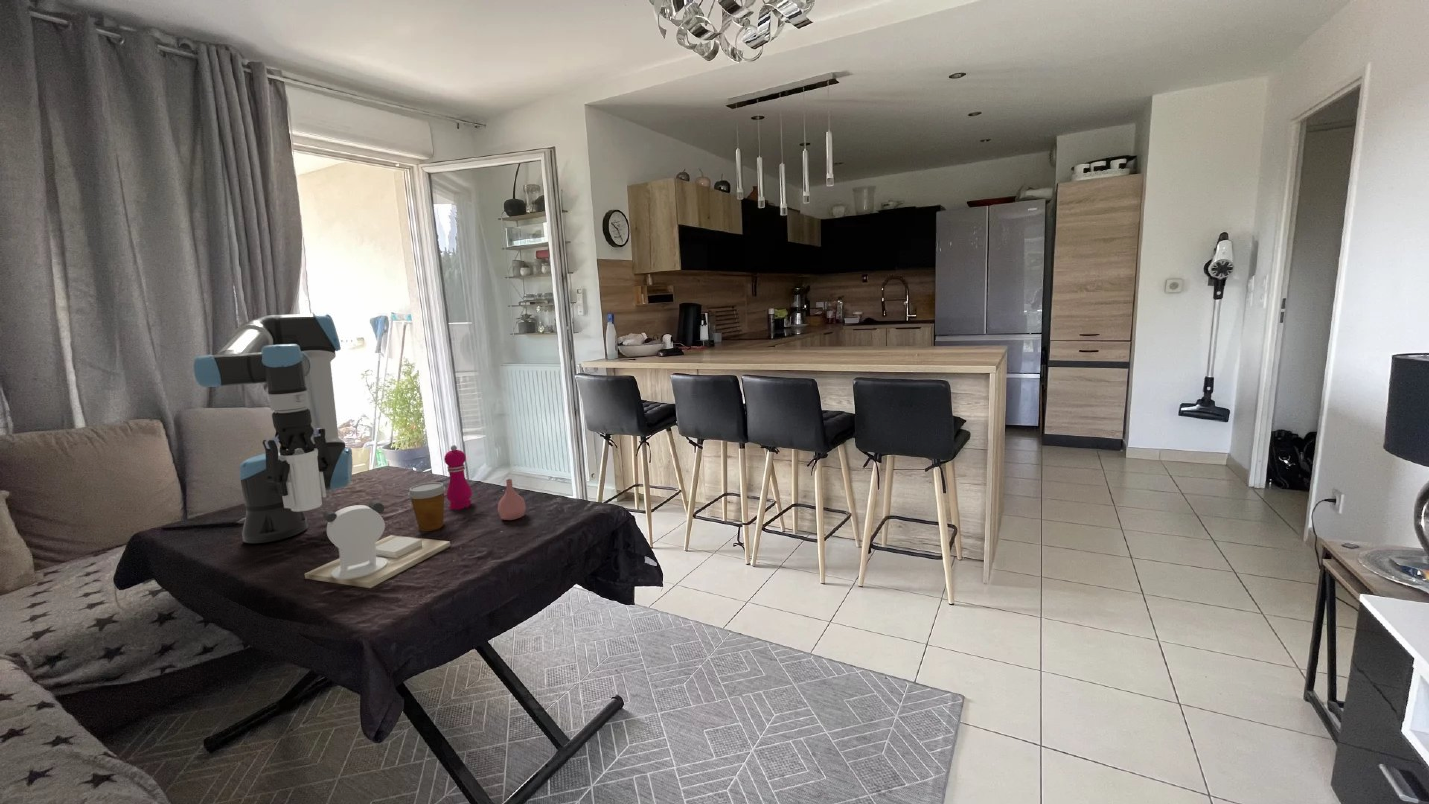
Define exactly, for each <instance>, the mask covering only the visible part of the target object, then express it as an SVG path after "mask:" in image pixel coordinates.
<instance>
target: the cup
mask: <svg viewBox="0 0 1429 804" xmlns="http://www.w3.org/2000/svg"><path fill="white" fill-rule="evenodd" d="M317 456H318V449H317V448H315V449H314V451H312V452H309V453H305V452H304V451H303V449H301V448H300V449H295V452H294V454H293V455H290V456H282V455H280V453H279V454H278V459H280V460H281V461H285V460H286V461H287V463H288V464H290V469H289V474H288V479H287V481H291V484H292V490H293V496H294V502H295V508H293V509H291V511H295V512H299V511H302V512H306V511H311V510H314V509H317V508H320V507H321V506H323V502H322V501H323V500H322V498H321V489H320V479H319V469H318V460H317Z"/></svg>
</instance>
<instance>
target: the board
mask: <svg viewBox="0 0 1429 804" xmlns="http://www.w3.org/2000/svg"><path fill="white" fill-rule="evenodd" d="M396 537H405V538H414V539H422V546H420V547H418V548H416V549H414V550H412V551H410V552H408V553H406V554H404V555H402V556H400V557H398V558H392V557H384V556H376V557H382V558H385V559H387V562H388V563H387V565H386V566H385V567H384V568H383V569H381V570H379V571H377V572H375V573H372V574H370V575H366V576H363V577H359V578H353V579H336V578H333V577H332V571H333V570H334V569H335V568H337V567H339V566H340V557H338V558H336V559H334V560H332V561H330V562H328V563H325V564H323V565H321V566H318V567H316V568H314V569H312V570H310V571H307V572H305V573H304V578H305V579H306V580H313V581H320V582H327V583H333V584H339V585H346V586H353V587H359V588H367V589H372V588H373V587H375V586H377V585H379V584H380V583H383V582H384V581H387V580H388V579H390V578H392V577H394V576H396V575H398V574H400V573H402V572H404V571H405V570H408V569H409V568H411V567H414V566H415V565H417V564H420V562H423V561H425V560H426V559H428V558H430V557H432V556H434V555H436V554H438V553H439V552H441V551H444V550H446V549H448V548H449V547H451V541H448V540H437V539H429V538H419V537H413V536H412V537H411V536H401V535H391V534H390V535H388V536H386V537H383V538H381V539H378V540H377V541H376V542H375V547H376V546H378V545H380V544H383V543H385V542H387V541H389V540H391V539H393V538H396Z"/></svg>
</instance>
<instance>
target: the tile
mask: <svg viewBox="0 0 1429 804" xmlns="http://www.w3.org/2000/svg"><path fill="white" fill-rule="evenodd" d="M405 537H406V536H403V537H396V538H393V539H391V540H389V541H387V542H385V543H383V544H380V545H378V546H376V556H384V557H392V558H398V557H400V556H402V555H404V554H406V553H408V552H410V551H412V550H414V549H416V548H418V547H420V546H422V539H423V538H421V539H414V538H415V537H412V538H405Z"/></svg>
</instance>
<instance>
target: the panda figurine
mask: <svg viewBox="0 0 1429 804" xmlns="http://www.w3.org/2000/svg"><path fill="white" fill-rule="evenodd" d="M384 510H385V506H384V505H383V503H381V502H379V501H378V500H376V499H375V500H374V499H373V500H370V501H369V503H368V505H363V504H358V505H351V506H347V507H343V508H341V509H338V510H337V511H335V512H334V511H333V510H331V509H327V510H326V511H324V512H323V518H324V520H326V521H327V524H326V535H327V538H328V540H330V542H331V543H332V544H334V546H335V547H334V552H335V553H337V554H338V555H339V558H340V566H339V567H337V568H335V569H334V570H333V571H332V577H333V578H336V579H353V578H359V577H363V576H366V575H370V574H372V573H375V572H377V571H379V570H381V569H383V568H384V567H385V566H386V565H387V563H388V562H387V559H385V558H382V557H376V547H375V542H377V541H379V540H380V538H381V537H382V536H383V534H384V531H385V528H386V524H385V521H384V518H383V516H382V515H381V513H383V512H384Z"/></svg>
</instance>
